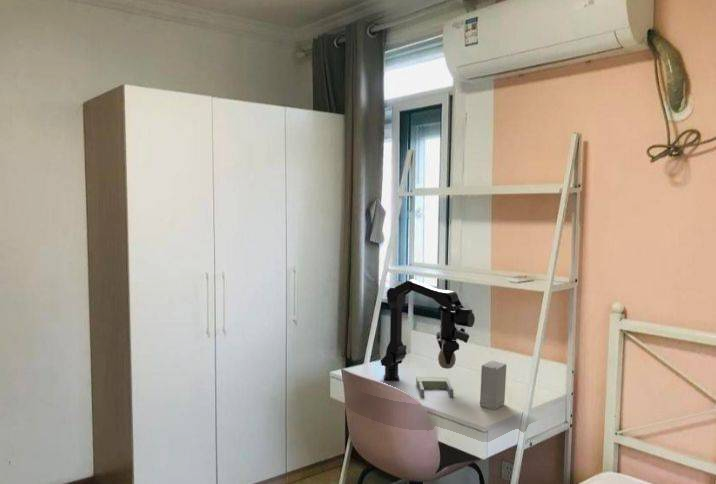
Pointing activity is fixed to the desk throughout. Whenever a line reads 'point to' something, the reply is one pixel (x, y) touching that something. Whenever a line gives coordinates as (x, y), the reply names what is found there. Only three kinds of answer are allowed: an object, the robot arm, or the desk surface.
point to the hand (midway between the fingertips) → (446, 361)
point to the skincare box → (493, 385)
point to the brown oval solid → (443, 363)
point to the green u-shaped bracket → (434, 384)
